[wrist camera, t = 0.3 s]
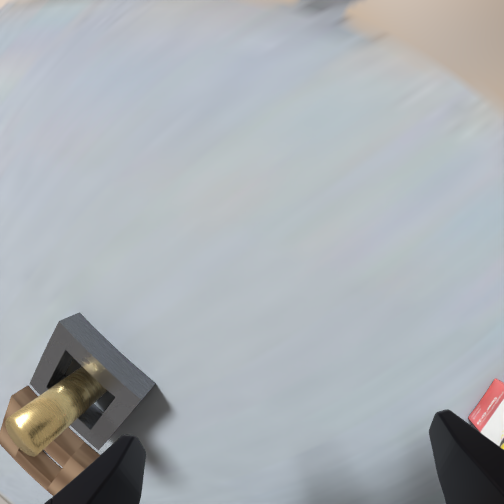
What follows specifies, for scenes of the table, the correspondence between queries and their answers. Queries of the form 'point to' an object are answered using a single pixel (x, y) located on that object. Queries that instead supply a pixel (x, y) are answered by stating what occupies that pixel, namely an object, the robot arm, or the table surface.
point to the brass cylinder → (53, 412)
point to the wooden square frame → (48, 451)
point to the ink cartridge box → (491, 414)
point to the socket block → (99, 367)
